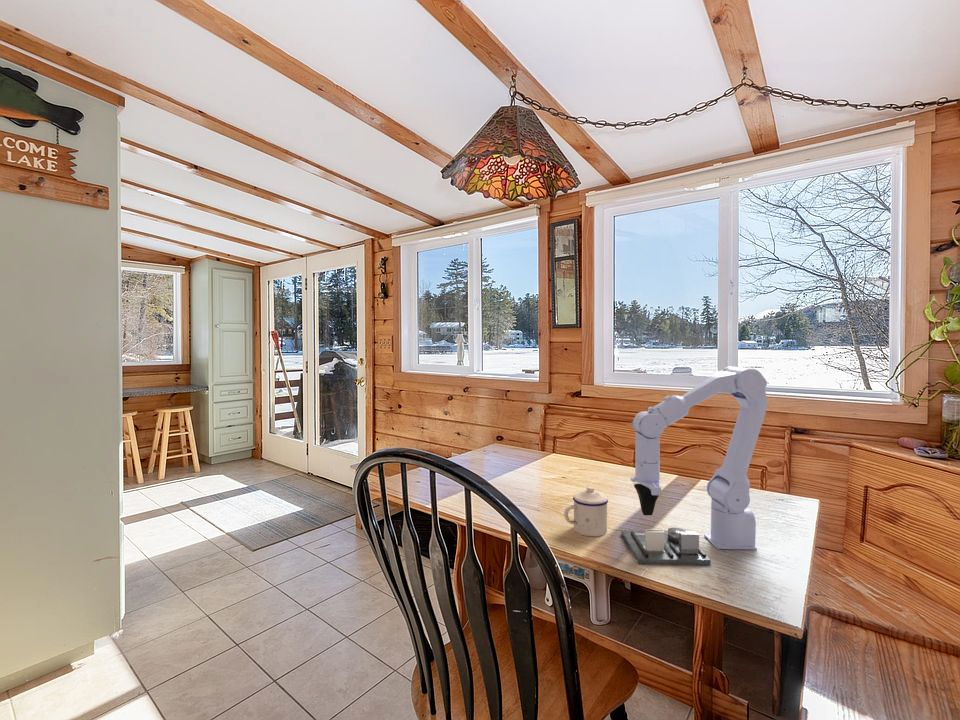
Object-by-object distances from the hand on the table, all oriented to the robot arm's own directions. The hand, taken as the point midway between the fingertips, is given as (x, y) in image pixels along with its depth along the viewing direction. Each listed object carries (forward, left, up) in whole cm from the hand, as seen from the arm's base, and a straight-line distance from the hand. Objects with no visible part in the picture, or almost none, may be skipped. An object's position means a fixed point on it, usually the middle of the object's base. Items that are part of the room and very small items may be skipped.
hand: (647, 514), depth 118 cm
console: (-3, +3, -7) cm, 8 cm away
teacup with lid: (+14, -7, -8) cm, 18 cm away
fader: (0, +6, -6) cm, 9 cm away
